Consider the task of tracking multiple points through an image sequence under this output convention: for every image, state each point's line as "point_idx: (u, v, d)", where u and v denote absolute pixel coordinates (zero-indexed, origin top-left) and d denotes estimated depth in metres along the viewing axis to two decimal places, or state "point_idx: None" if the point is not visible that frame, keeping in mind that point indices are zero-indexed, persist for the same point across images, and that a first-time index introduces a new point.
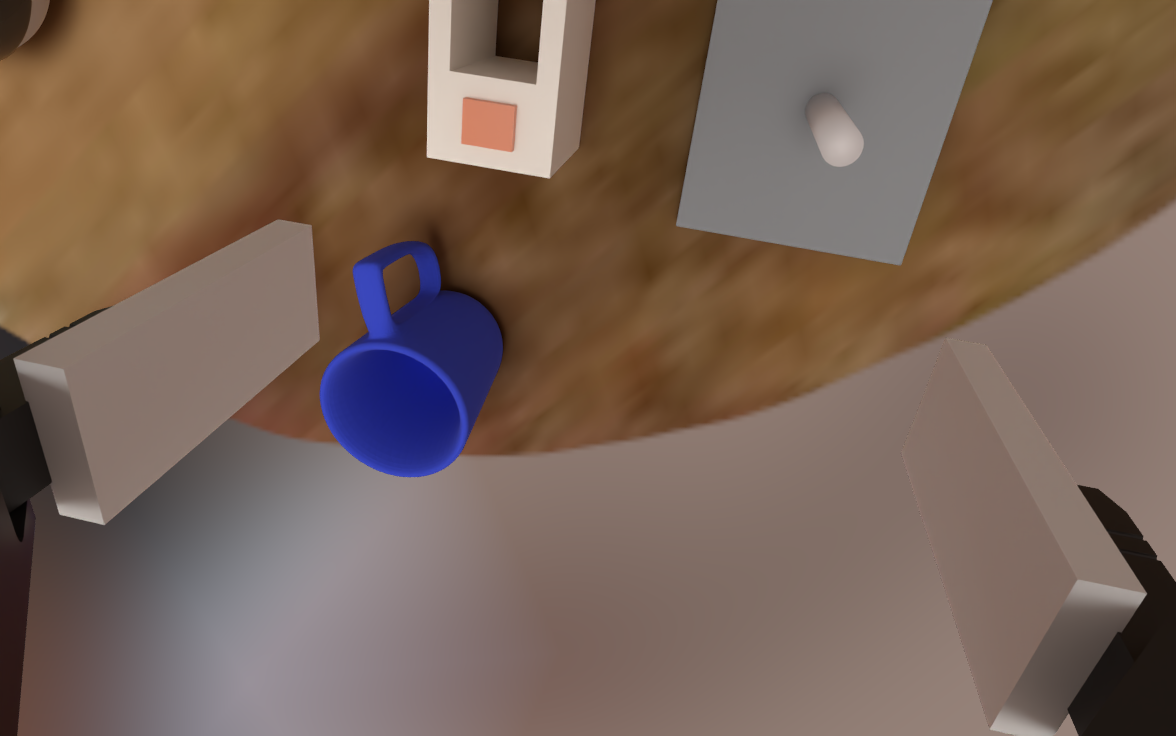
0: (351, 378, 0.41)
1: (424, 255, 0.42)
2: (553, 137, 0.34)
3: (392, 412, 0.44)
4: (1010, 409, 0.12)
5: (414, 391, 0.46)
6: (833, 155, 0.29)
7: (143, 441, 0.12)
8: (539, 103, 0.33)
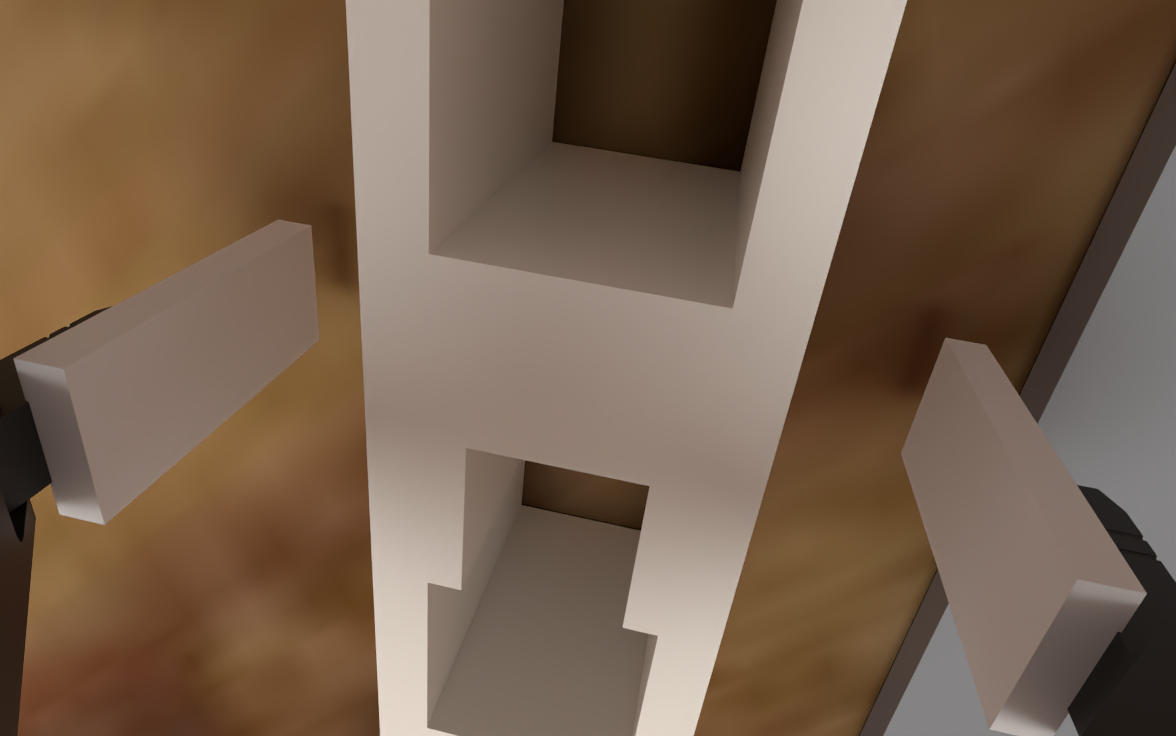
0: None
1: None
2: None
3: None
4: (1010, 409, 0.12)
5: None
6: None
7: (143, 441, 0.12)
8: None
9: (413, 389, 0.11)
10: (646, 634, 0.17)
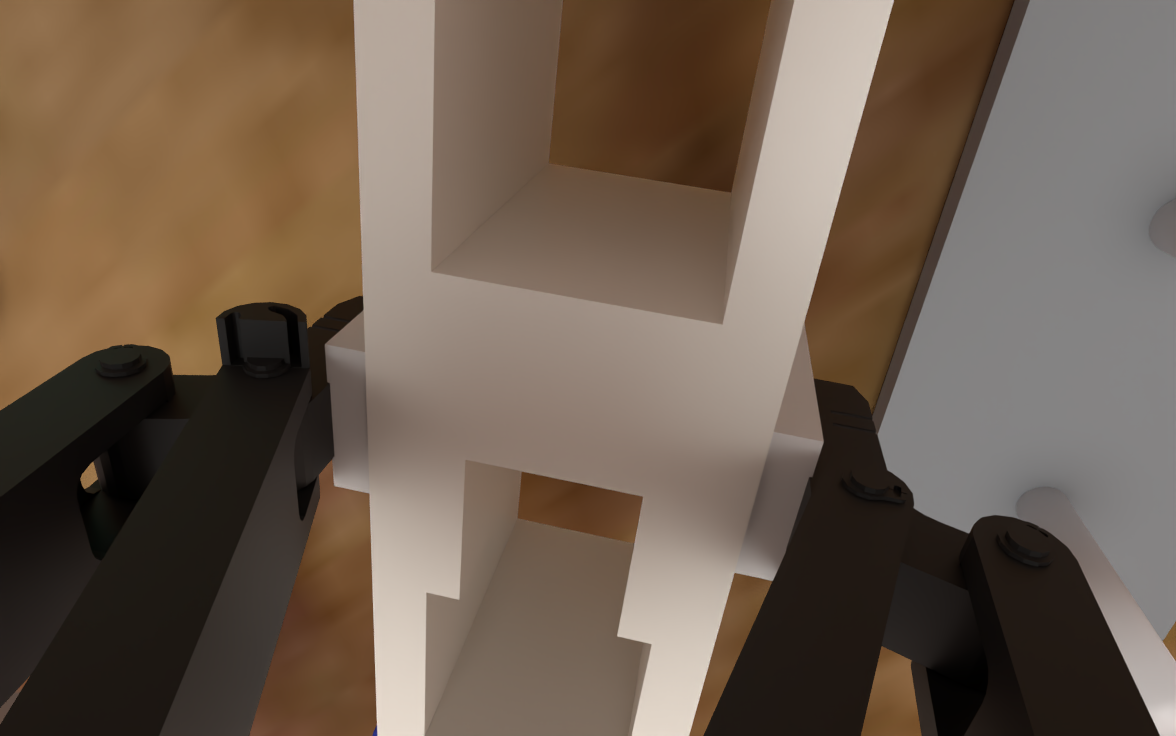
0: None
1: None
2: None
3: None
4: None
5: None
6: None
7: None
8: None
9: (414, 403, 0.11)
10: (640, 645, 0.18)
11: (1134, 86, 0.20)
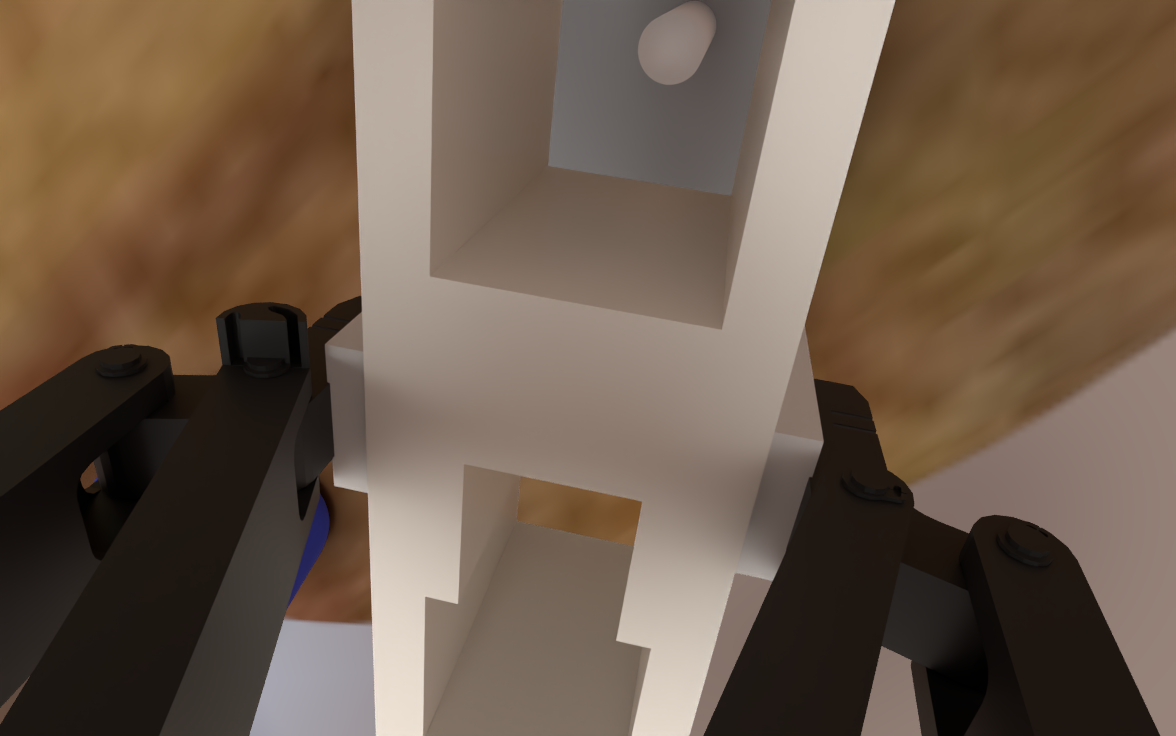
0: None
1: None
2: None
3: None
4: None
5: None
6: None
7: None
8: None
9: (412, 407, 0.11)
10: (639, 649, 0.18)
11: None
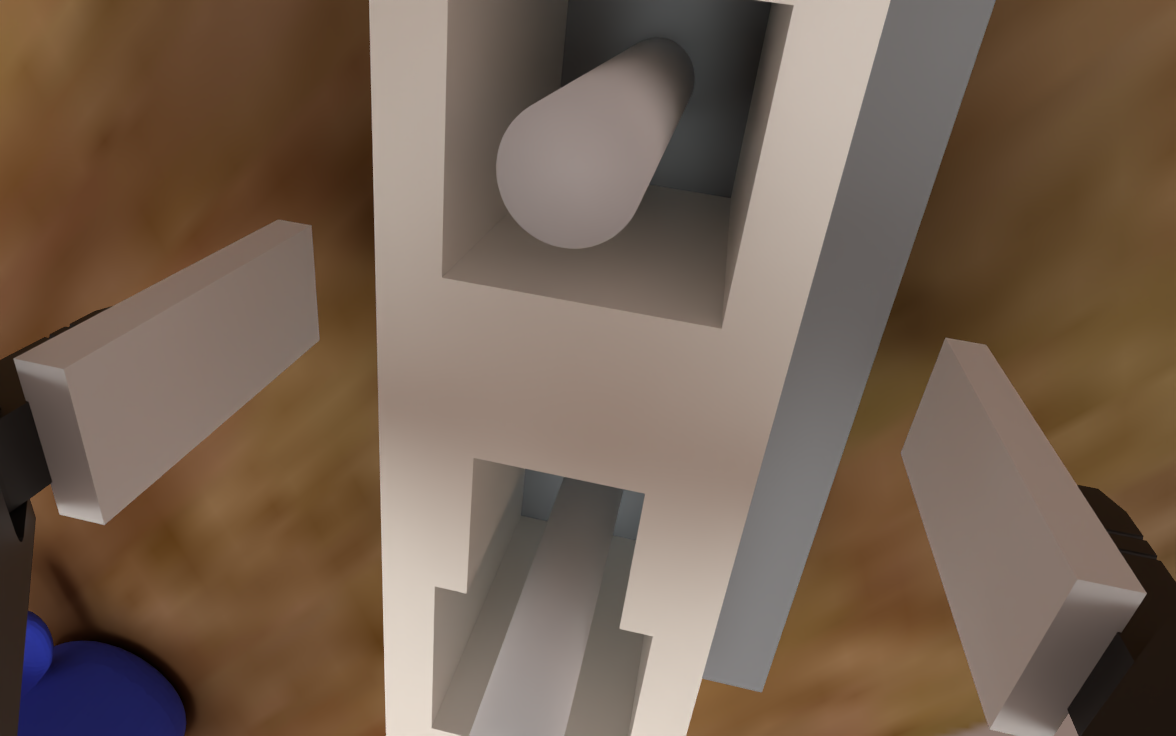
0: None
1: None
2: None
3: None
4: (1010, 409, 0.12)
5: None
6: None
7: (143, 441, 0.12)
8: None
9: (424, 403, 0.12)
10: (641, 639, 0.18)
11: None
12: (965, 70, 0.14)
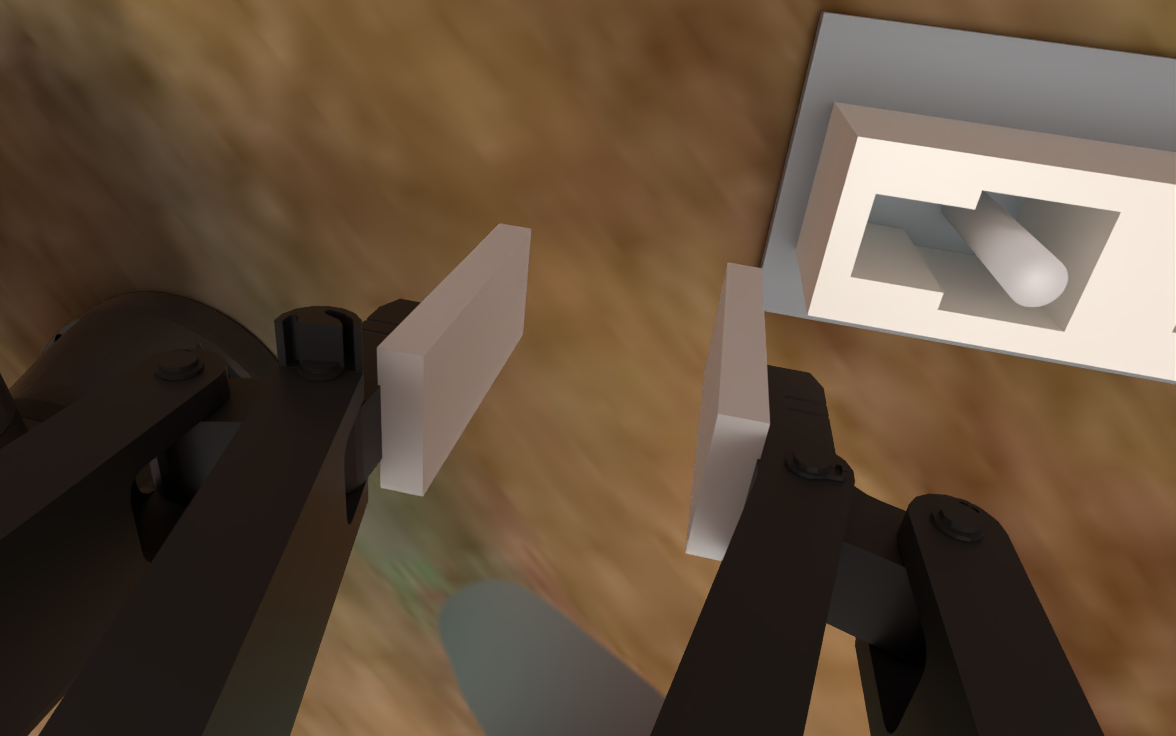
0: None
1: None
2: None
3: None
4: (748, 311, 0.14)
5: None
6: None
7: (445, 423, 0.13)
8: None
9: (1131, 350, 0.24)
10: None
11: None
12: (992, 38, 0.27)
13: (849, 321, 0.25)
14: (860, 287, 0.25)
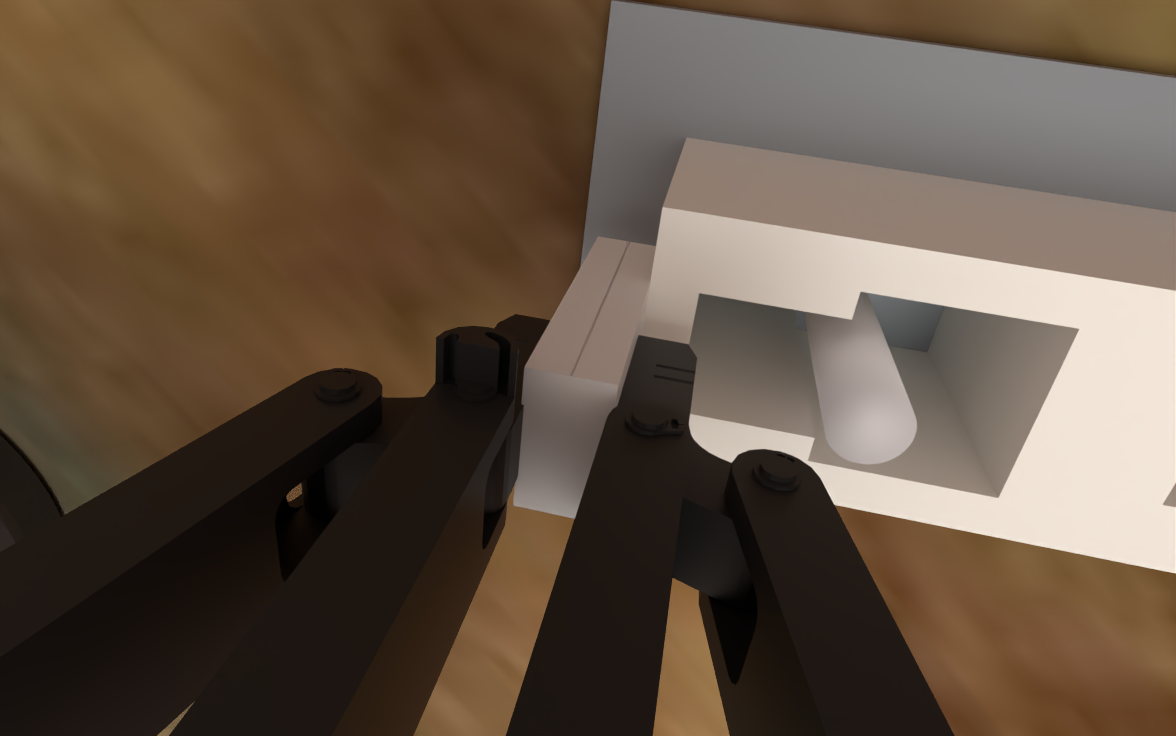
0: None
1: None
2: None
3: None
4: (633, 285, 0.15)
5: None
6: None
7: None
8: None
9: (1100, 528, 0.16)
10: None
11: None
12: (848, 38, 0.19)
13: None
14: (691, 426, 0.16)
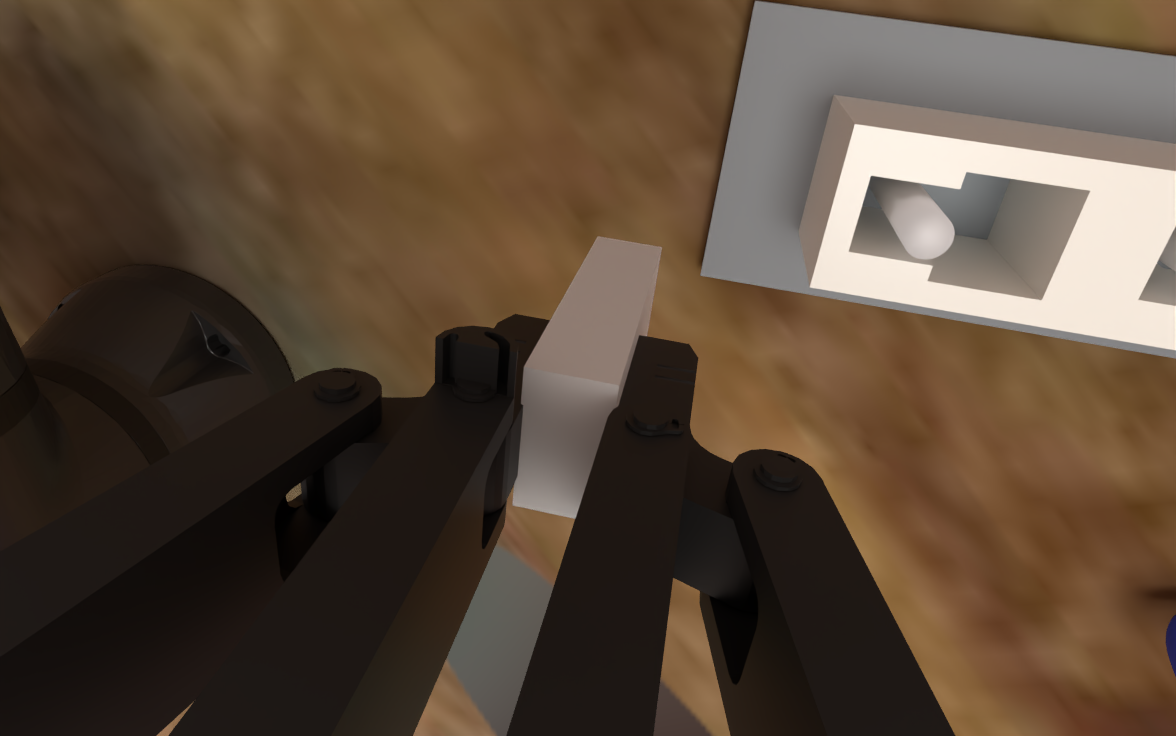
0: None
1: None
2: None
3: None
4: (634, 285, 0.15)
5: None
6: None
7: None
8: None
9: (1102, 317, 0.27)
10: None
11: (793, 222, 0.34)
12: (906, 24, 0.30)
13: (847, 292, 0.28)
14: (857, 261, 0.27)
